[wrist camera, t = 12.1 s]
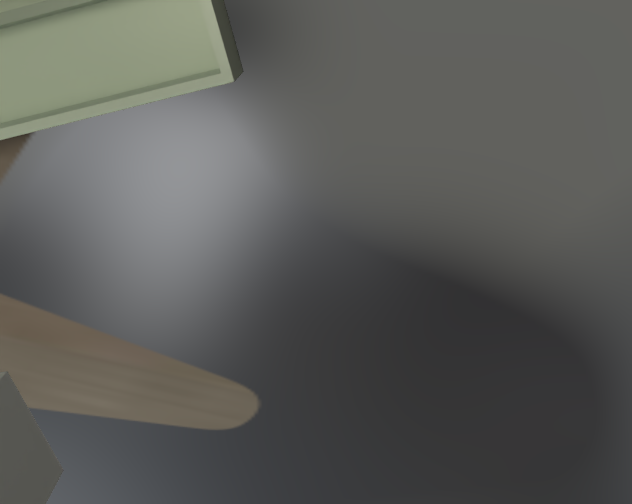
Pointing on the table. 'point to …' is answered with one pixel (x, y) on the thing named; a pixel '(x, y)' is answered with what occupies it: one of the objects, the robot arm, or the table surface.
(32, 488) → the robot arm
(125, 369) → the table surface
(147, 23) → the organizer tray
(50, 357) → the table surface
